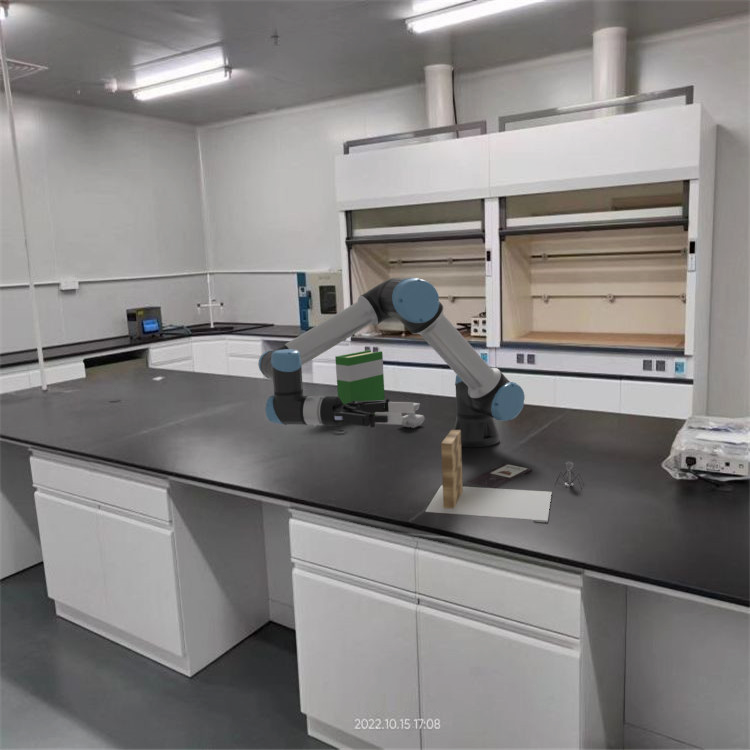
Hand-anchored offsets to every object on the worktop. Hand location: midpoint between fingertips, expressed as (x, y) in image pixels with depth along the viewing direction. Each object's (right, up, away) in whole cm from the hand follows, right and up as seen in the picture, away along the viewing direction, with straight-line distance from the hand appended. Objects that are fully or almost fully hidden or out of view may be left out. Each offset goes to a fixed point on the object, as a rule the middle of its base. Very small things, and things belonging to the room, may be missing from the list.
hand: (407, 413), depth 159 cm
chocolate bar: (+26, -19, +16) cm, 36 cm away
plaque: (+11, -21, +1) cm, 24 cm away
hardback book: (-13, -6, +93) cm, 94 cm away
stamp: (+5, -9, +72) cm, 73 cm away
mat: (+20, -22, -2) cm, 30 cm away
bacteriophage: (+42, -19, +7) cm, 47 cm away
